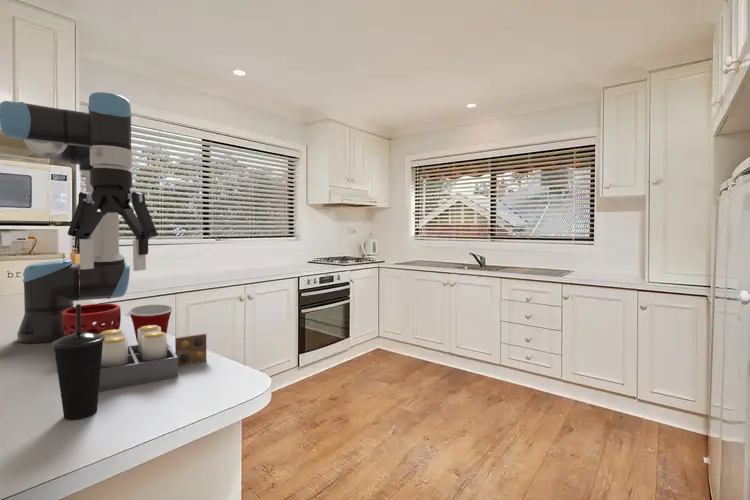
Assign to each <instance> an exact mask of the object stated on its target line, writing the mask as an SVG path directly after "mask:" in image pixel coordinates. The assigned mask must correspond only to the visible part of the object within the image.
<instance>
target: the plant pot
mask: <svg viewBox="0 0 750 500" xmlns="http://www.w3.org/2000/svg"><path fill="white" fill-rule="evenodd" d="M121 312H122V311H121V306H120V305H119V304H115V303H93V304H92V303H91V304H84V305H83V304H81V332H91V333H96V334H100V333H101V332H103V331H106V330H114V329H119V330H120V328H121V321H122V318H121V316H122V313H121ZM94 323H95V324H94ZM62 325H63V331H64V334H65V336H66V335H69V334H72V333H77V325H76V306H73V307H72V308H68V309H66V310H64V311H62Z"/></svg>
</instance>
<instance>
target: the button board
mask: <svg viewBox="0 0 750 500" xmlns="http://www.w3.org/2000/svg"><path fill="white" fill-rule="evenodd" d="M172 378H179V366H178V357H177V355H176V354H175V350H173V349H172V348H171V346H170V345H169V344H168V343H167V356H166V357H165V358H162V359H159V360H151V361H147V360H143V359H142V352H140V351H138V344H135V345H128V363H126V364H124V365H121V366H116V367H102V366H101V371H100V382H99V391H100V392H104V391H110V390H114V389H120V388H124V387H130V386H135V385H143V384H146V383H151V382H159V381H161V380H167V379H172Z"/></svg>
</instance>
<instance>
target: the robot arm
mask: <svg viewBox="0 0 750 500" xmlns="http://www.w3.org/2000/svg"><path fill="white" fill-rule="evenodd" d="M87 110H88V112H86V111H85V112H84V111H77V110H70V109H64V108H56V107H50V106H45V105H39V104H38V105H37V104H30V103H26V102H23V101H11V100H10V101H9V100H2V101H1V102H0V132H1V134H2V135H3V136H4V137H6V138H11V139H16V140H19V141H23V142H24V144H25V145H26V147H27V149H29V150H30V151H31V152H33V153H34V154H36V155H38V156H40V157H42V158H46V159H48V160H51V161H55V162H58V163H63V164H71V165H79V166H78V167H79V172H80V173H81V174H82V175H84V176H85V192H84V191H80V192H79V193H78V199H77V200H78V203H77V205H76V208H75V212H74V214H73V217H72V220H71V222H70V224H69V228H68V231H67V235H68V236H70V237H71V236H72V237H74V238H75V239H76V240H77V241H76V243H77V245H76V246H77V253H78V254H79V263H74V261H73V260H72V259H60V260H52V261H44V262H43V261H42V262H37V263H33V264H29V265H27V266H26V267H25V268H24V271H23V280H22V282H23V292H24V293H23V296H24V301H23V302H24V303H23V304H24V306H23V307H24V315H23V317H22V319H21V323H20V326H19V328H18V331H17V333H16V334H17V342H18V343H22V344H40V343H50V342H54V341H55V340H58V339H60V338H62V337H64V336H65V334H64V331H63V325H62V311H64V310H66V309H68V308H72V307H74V302H75V301H76V302H77V301H78V302H79V301H90V300H93V301H94V300H105V299H107V300H111V299H115V298H122V297H124V296H125V295H126V293H127V291H128V287H129V282H130V271H131V264H130V263H129V262H127V261H125V258H126V257H125V256H123V254H121V253H120V216H121V218H122V219H123V220H124V221H125V223H126V225H127V226H128V228H129V229H130V230H131V232H132V234H133V235H134V236H135V238H134V239H133V240H132V259H133V261H132V263H133V264H132V267H133V271H135V272H137V271H138V272H139V271H146V270H147V263H146V259H147V257H146V256H147V255H148V254H149V240H150V239H151V238H154V237H158V232H157V229H156V227H155V224H154V222H153V219H152V217H151V215H150V212H149V210H148V207H147V205H146V204H147V203H146V196H145V193H143V192H137V191H132V192H131V188H133V173H132V172H131V171H129V170H131V169H133V164H132V162H133V159H132V158H133V157H132V154H133V153H132V115H133V114H132V109H131V102H130V101H129V99H127V98H126V97H125V96H122V95H119V94H116V93H110V92H103V91H99V92H93V93H90V95H89V97H88V106H87ZM130 203H132V206H131V205H130Z"/></svg>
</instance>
